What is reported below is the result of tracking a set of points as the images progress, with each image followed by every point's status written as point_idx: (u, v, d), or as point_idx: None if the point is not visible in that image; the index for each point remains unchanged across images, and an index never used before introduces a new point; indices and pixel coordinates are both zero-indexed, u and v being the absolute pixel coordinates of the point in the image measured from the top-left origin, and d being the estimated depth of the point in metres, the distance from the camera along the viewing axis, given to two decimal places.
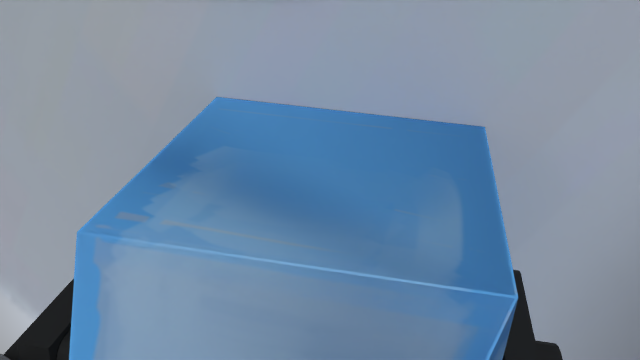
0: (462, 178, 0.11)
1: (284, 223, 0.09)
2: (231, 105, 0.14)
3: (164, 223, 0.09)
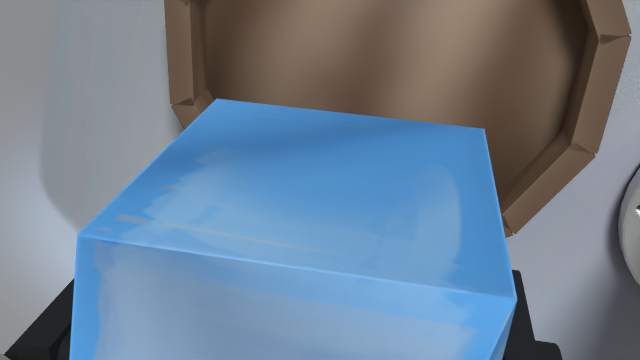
0: (461, 181, 0.11)
1: (284, 226, 0.09)
2: (230, 106, 0.14)
3: (164, 225, 0.09)
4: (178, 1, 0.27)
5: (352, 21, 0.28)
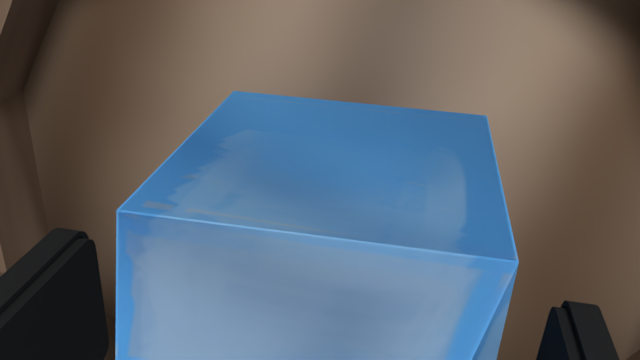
0: (466, 161, 0.12)
1: (303, 201, 0.10)
2: (247, 98, 0.14)
3: (194, 202, 0.10)
4: None
5: None
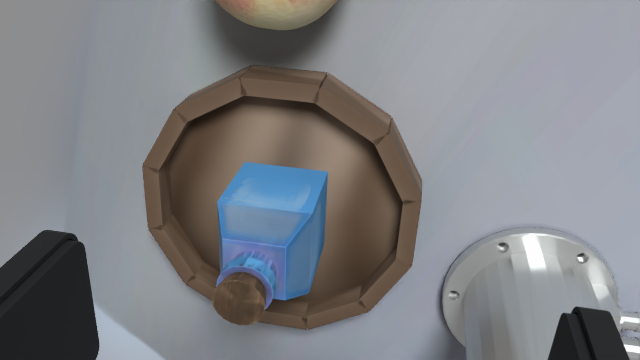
0: (312, 188, 0.41)
1: (264, 199, 0.39)
2: (249, 165, 0.43)
3: (236, 199, 0.39)
4: (151, 170, 0.43)
5: None
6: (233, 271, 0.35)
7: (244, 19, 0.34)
